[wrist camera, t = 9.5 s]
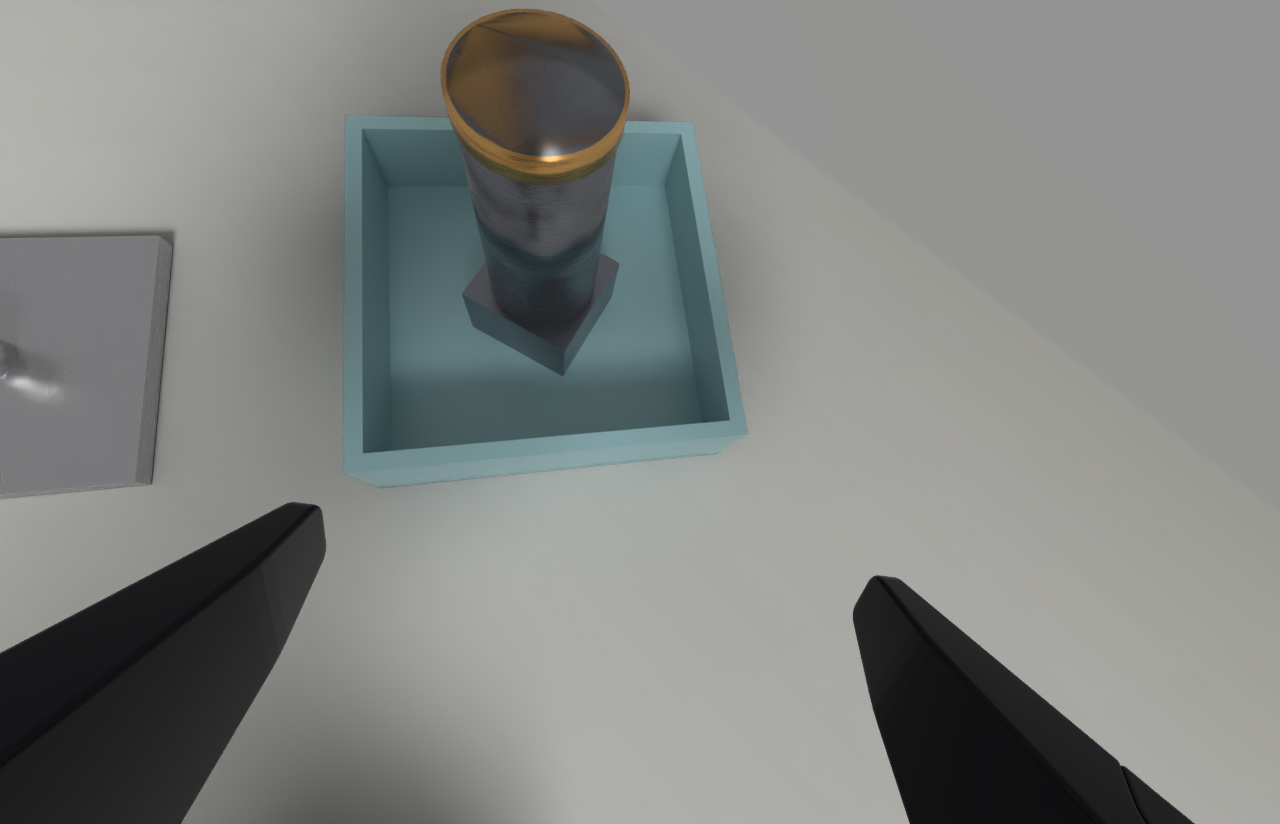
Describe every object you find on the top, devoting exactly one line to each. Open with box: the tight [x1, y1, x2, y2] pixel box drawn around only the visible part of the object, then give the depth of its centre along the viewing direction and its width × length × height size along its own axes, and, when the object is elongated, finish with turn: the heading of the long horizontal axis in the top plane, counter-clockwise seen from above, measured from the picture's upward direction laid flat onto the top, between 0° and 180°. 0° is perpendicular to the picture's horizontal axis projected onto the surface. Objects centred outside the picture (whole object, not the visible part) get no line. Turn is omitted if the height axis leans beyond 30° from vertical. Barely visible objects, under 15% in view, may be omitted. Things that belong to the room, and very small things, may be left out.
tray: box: [343, 115, 748, 488], centre depth 22 cm, size 14×14×4 cm
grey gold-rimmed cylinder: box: [441, 9, 630, 376], centre depth 18 cm, size 4×4×12 cm
